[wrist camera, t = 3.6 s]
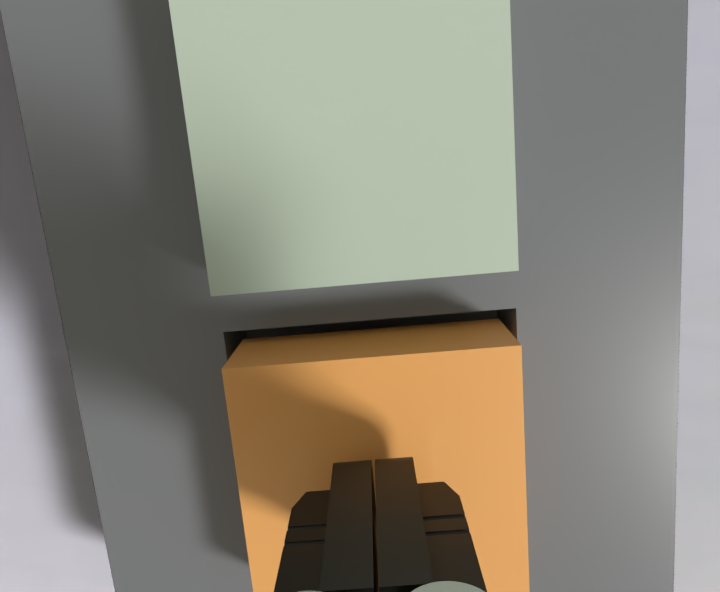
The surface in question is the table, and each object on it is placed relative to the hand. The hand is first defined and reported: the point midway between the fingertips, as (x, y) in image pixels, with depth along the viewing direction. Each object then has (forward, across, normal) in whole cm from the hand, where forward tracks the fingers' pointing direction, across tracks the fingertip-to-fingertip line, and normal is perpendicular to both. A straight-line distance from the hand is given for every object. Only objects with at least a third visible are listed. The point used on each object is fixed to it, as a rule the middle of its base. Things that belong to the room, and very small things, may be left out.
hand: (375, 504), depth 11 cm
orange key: (+2, 0, 0) cm, 3 cm away
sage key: (+3, 0, -7) cm, 7 cm away
